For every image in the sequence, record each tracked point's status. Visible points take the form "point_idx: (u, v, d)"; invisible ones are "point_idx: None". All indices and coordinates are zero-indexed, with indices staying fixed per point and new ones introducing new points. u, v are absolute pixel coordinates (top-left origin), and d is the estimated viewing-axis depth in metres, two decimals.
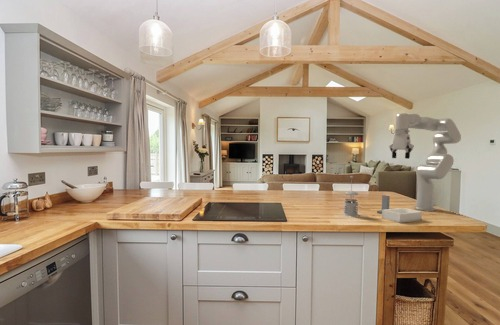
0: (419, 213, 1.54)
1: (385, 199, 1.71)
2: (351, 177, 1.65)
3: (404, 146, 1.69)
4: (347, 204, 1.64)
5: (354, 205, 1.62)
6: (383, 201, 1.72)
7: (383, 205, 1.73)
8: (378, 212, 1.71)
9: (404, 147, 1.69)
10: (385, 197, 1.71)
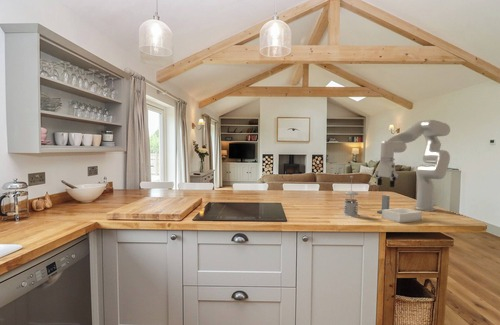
0: (419, 213, 1.54)
1: (385, 199, 1.71)
2: (351, 177, 1.65)
3: (389, 174, 1.67)
4: (347, 204, 1.64)
5: (354, 205, 1.62)
6: (383, 201, 1.72)
7: (383, 205, 1.72)
8: (378, 212, 1.71)
9: (389, 175, 1.67)
10: (385, 197, 1.71)
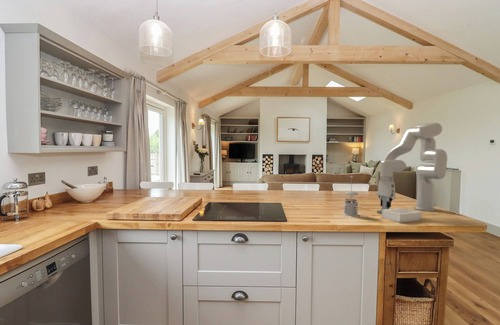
0: (419, 213, 1.54)
1: (385, 199, 1.71)
2: (351, 177, 1.65)
3: (389, 194, 1.67)
4: (347, 204, 1.64)
5: (354, 205, 1.62)
6: (383, 201, 1.72)
7: (383, 205, 1.72)
8: (378, 212, 1.71)
9: (389, 195, 1.67)
10: (385, 197, 1.71)
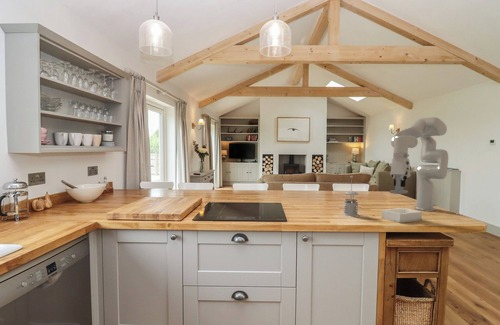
0: (419, 213, 1.54)
1: (399, 178, 1.58)
2: (351, 177, 1.65)
3: (403, 172, 1.54)
4: (347, 204, 1.64)
5: (354, 205, 1.62)
6: (397, 180, 1.59)
7: (396, 184, 1.59)
8: (391, 192, 1.58)
9: (403, 173, 1.54)
10: (399, 175, 1.58)
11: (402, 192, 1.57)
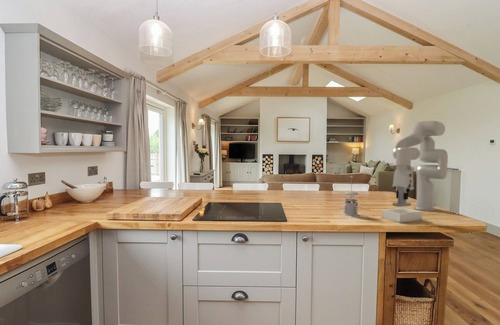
0: (419, 213, 1.54)
1: (402, 190, 1.55)
2: (351, 177, 1.64)
3: (406, 184, 1.51)
4: (347, 204, 1.64)
5: (354, 205, 1.62)
6: (399, 192, 1.57)
7: (399, 197, 1.57)
8: (394, 204, 1.55)
9: (406, 185, 1.51)
10: (402, 188, 1.55)
11: (405, 205, 1.55)
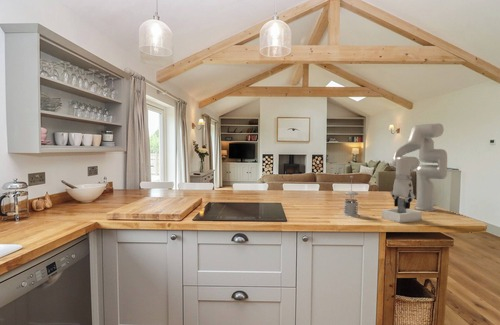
0: (419, 213, 1.54)
1: (401, 202, 1.56)
2: (351, 177, 1.65)
3: (406, 194, 1.52)
4: (347, 204, 1.64)
5: (354, 205, 1.62)
6: (399, 204, 1.57)
7: (399, 208, 1.57)
8: None
9: (406, 195, 1.52)
10: (401, 200, 1.56)
11: None
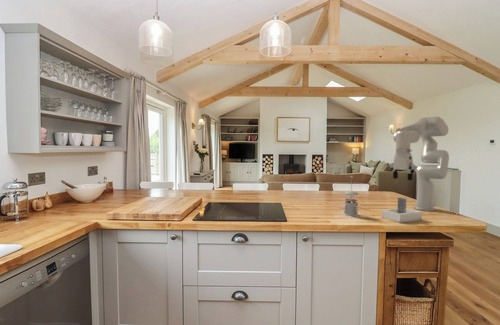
0: (419, 213, 1.54)
1: (401, 202, 1.56)
2: (351, 177, 1.65)
3: (406, 167, 1.56)
4: (347, 204, 1.64)
5: (354, 205, 1.62)
6: (399, 204, 1.57)
7: (399, 208, 1.57)
8: None
9: (406, 168, 1.56)
10: (401, 200, 1.56)
11: None
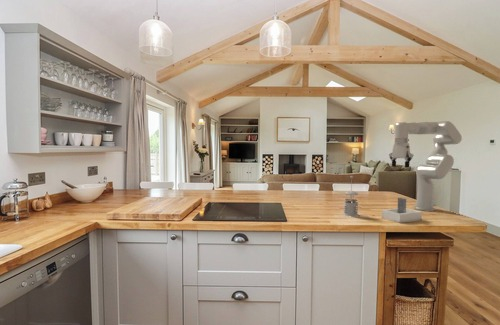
0: (419, 213, 1.54)
1: (401, 202, 1.56)
2: (351, 177, 1.64)
3: (404, 155, 1.69)
4: (347, 204, 1.64)
5: (354, 205, 1.62)
6: (399, 204, 1.57)
7: (399, 208, 1.57)
8: None
9: (404, 156, 1.69)
10: (401, 200, 1.56)
11: None
